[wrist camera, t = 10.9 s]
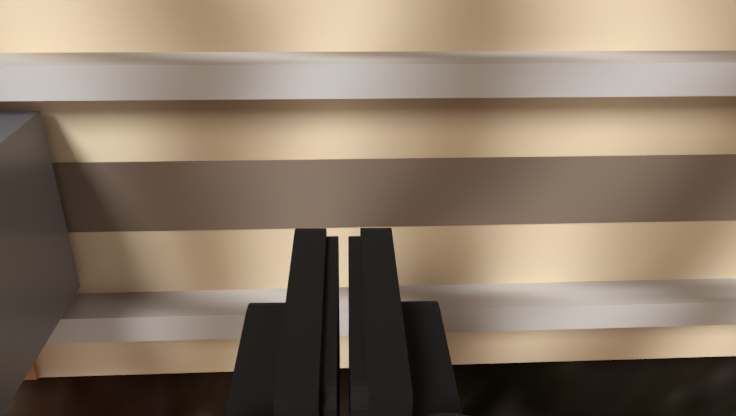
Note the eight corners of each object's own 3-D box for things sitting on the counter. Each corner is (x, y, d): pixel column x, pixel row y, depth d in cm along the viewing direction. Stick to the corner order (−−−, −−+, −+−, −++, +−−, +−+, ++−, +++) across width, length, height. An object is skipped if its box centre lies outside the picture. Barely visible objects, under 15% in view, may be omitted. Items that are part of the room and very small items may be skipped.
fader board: (-109, 340, 21) (-178, 412, 18) (-272, -58, 15) (-407, -44, 13) (887, 313, 23) (967, 375, 20) (1055, -50, 17) (1197, -36, 15)
